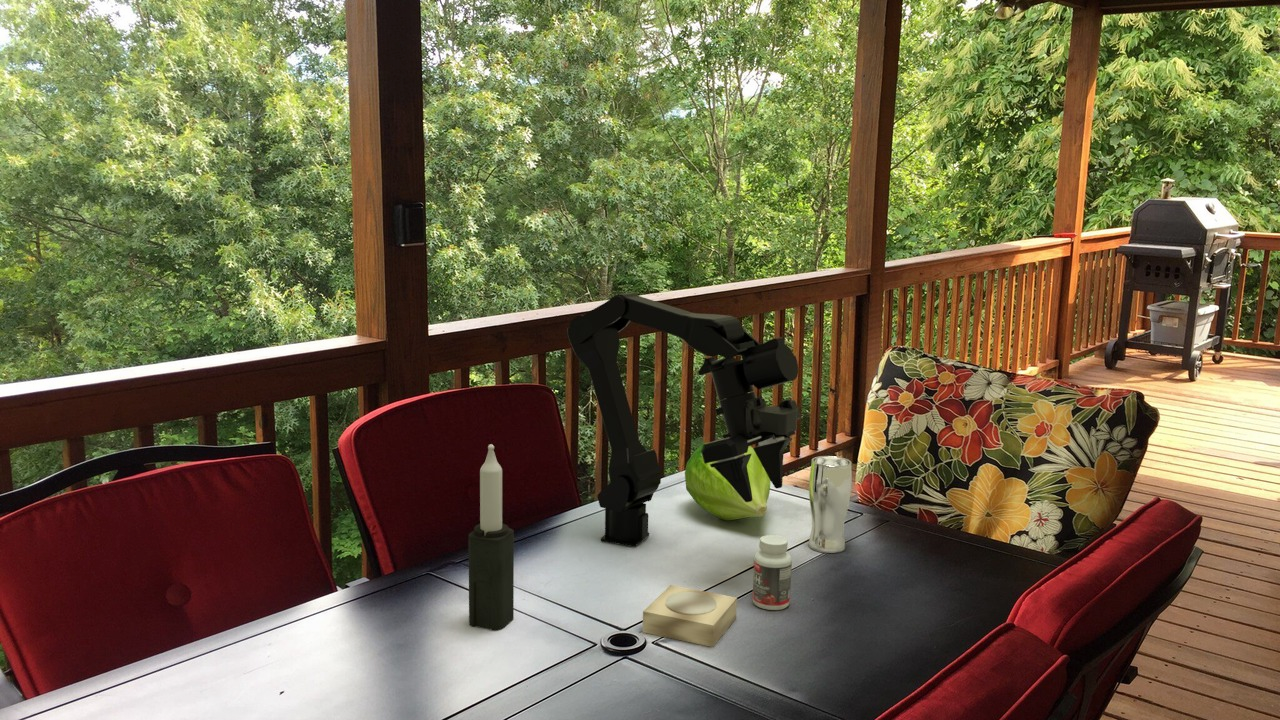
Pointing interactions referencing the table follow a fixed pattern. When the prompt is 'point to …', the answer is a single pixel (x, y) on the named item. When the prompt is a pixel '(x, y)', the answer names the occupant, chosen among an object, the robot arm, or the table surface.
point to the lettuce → (726, 488)
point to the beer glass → (829, 502)
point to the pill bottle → (772, 573)
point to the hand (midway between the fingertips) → (764, 494)
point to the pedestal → (690, 615)
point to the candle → (491, 555)
